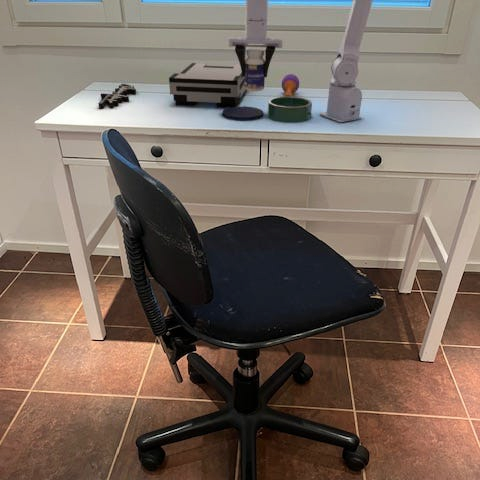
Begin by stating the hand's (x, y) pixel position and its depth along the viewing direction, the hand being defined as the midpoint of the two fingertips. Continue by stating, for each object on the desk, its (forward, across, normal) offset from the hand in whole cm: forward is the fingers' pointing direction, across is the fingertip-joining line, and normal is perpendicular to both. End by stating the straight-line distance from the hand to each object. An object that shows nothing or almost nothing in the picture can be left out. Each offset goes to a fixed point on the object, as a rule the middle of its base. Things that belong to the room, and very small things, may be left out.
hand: (254, 76), depth 137 cm
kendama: (+11, -9, -22) cm, 26 cm away
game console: (+11, +16, -21) cm, 29 cm away
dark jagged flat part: (+11, +46, -14) cm, 49 cm away
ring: (+10, -10, 0) cm, 15 cm away
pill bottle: (+4, 0, 0) cm, 4 cm away
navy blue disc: (+10, +3, 0) cm, 11 cm away
